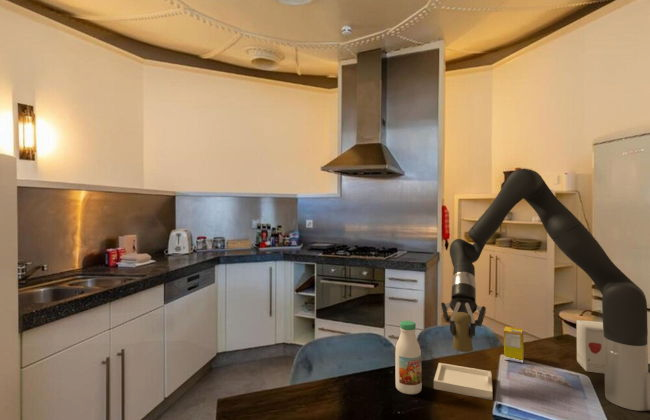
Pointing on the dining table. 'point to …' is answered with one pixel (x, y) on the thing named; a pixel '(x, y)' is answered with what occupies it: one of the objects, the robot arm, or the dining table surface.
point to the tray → (464, 381)
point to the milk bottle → (408, 360)
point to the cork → (462, 332)
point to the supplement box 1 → (513, 343)
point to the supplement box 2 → (590, 346)
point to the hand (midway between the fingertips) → (462, 335)
